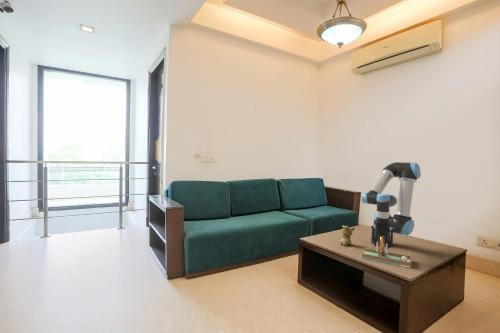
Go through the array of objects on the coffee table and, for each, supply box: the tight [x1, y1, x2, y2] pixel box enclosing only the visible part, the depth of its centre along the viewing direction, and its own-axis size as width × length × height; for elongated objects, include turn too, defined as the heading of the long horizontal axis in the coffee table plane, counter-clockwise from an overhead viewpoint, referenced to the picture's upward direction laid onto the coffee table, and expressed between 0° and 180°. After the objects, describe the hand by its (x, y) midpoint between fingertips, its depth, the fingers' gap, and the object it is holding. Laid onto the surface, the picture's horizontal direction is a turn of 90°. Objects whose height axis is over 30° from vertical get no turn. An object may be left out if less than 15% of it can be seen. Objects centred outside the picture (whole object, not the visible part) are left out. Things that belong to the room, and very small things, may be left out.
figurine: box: [339, 224, 356, 247], centre depth 203 cm, size 10×9×15 cm
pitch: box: [361, 247, 413, 269], centre depth 174 cm, size 13×28×4 cm, turn 57°
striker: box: [378, 236, 387, 257], centre depth 176 cm, size 6×5×13 cm
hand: (381, 252), depth 176 cm, fingers open, 5 cm apart
